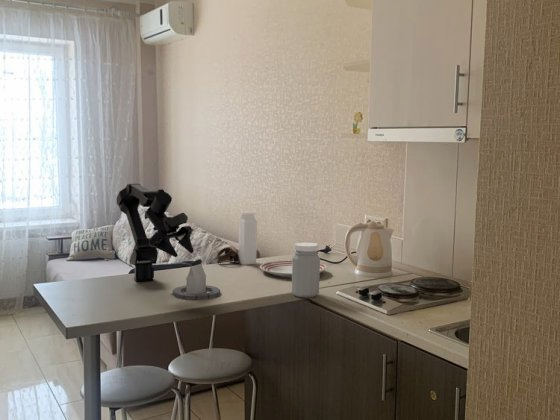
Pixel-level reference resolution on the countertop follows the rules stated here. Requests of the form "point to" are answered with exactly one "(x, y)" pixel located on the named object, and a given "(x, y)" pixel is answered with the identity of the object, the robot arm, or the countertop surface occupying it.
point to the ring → (178, 293)
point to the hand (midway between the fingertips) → (184, 254)
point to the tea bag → (196, 280)
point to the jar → (305, 270)
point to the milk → (247, 239)
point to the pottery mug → (228, 255)
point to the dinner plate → (283, 268)
